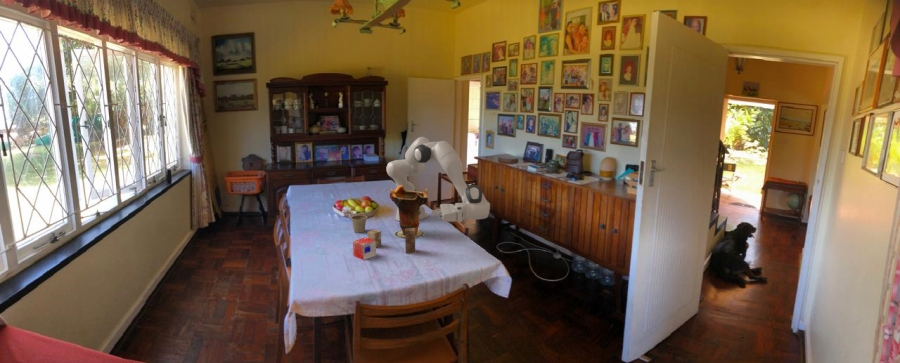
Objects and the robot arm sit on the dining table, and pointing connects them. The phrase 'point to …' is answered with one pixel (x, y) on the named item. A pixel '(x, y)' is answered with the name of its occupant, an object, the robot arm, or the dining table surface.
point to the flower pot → (359, 223)
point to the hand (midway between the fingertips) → (432, 212)
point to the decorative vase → (408, 209)
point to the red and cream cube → (364, 248)
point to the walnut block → (410, 240)
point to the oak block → (375, 236)
